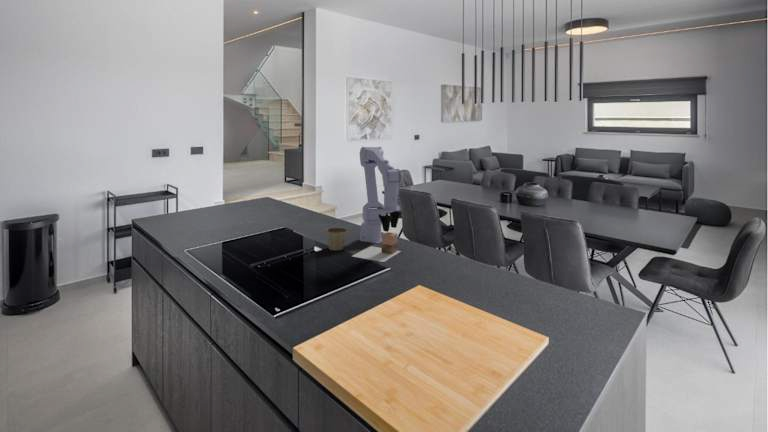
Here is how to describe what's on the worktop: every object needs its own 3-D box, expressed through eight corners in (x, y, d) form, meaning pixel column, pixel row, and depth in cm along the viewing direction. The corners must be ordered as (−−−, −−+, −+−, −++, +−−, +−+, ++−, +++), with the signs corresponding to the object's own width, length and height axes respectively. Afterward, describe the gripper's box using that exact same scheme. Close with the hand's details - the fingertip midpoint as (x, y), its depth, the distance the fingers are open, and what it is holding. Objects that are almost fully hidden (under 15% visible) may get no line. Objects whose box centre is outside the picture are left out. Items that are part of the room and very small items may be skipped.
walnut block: (381, 252, 184) (381, 243, 183) (386, 249, 188) (386, 240, 187) (392, 254, 182) (392, 245, 181) (396, 251, 186) (397, 242, 185)
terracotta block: (381, 243, 183) (381, 234, 182) (386, 240, 187) (387, 232, 186) (392, 245, 181) (392, 236, 180) (397, 242, 185) (397, 233, 184)
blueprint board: (351, 257, 178) (351, 256, 178) (370, 247, 193) (370, 246, 193) (383, 263, 171) (383, 262, 171) (401, 252, 186) (401, 251, 186)
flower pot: (348, 246, 193) (348, 228, 191) (344, 252, 183) (344, 233, 182) (328, 245, 193) (328, 226, 192) (323, 251, 184) (323, 232, 182)
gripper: (392, 201, 172) (391, 234, 175) (406, 196, 185) (405, 227, 188) (376, 199, 175) (375, 231, 178) (391, 194, 188) (390, 224, 191)
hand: (389, 229), depth 183 cm, fingers open, 7 cm apart
